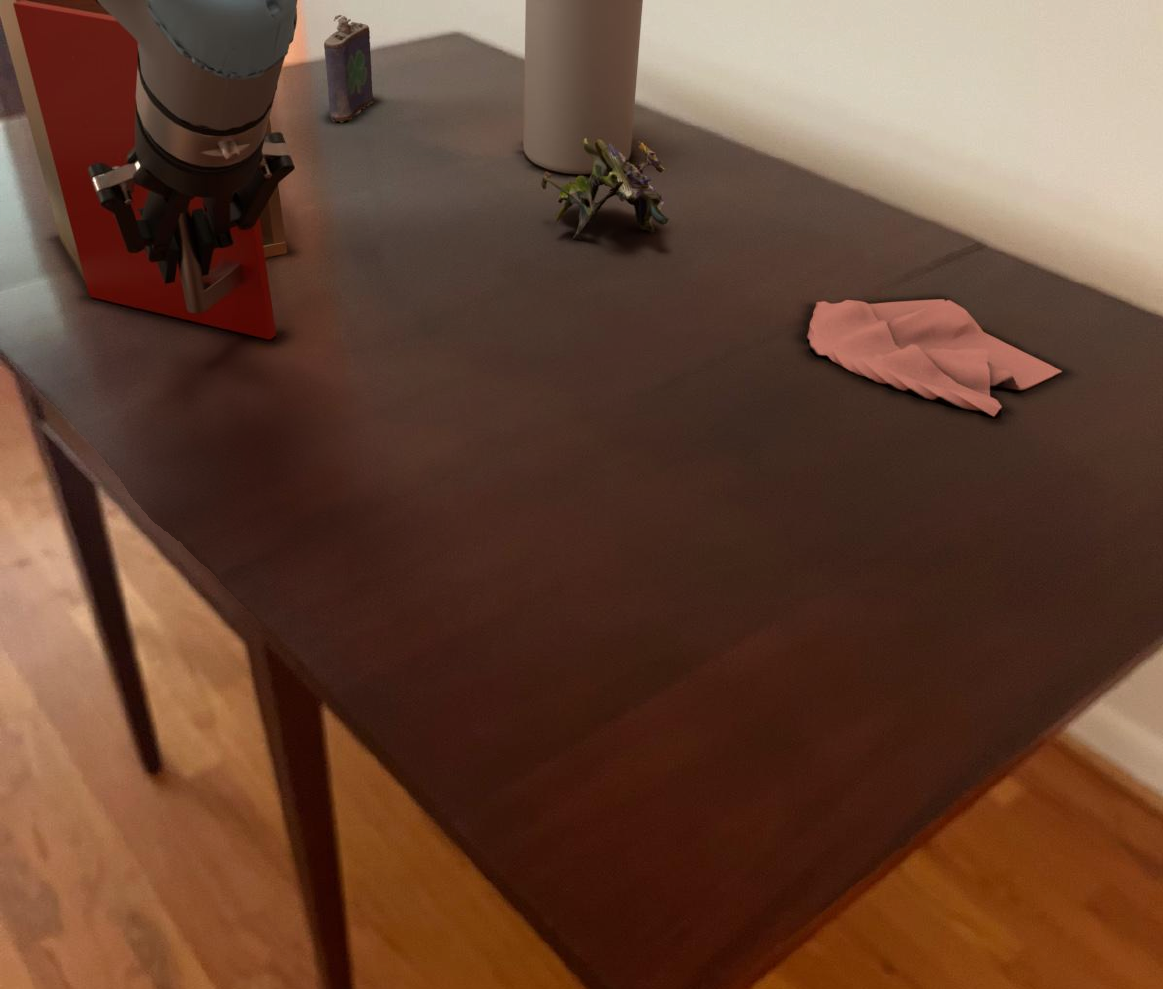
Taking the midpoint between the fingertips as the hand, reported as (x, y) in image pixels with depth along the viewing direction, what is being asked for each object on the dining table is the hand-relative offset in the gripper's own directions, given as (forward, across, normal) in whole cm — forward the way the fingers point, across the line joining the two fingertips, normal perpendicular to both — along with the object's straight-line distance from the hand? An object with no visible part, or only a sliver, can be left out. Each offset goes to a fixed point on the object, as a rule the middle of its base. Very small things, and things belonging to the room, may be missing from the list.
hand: (180, 263), depth 89 cm
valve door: (+9, -2, -2) cm, 9 cm away
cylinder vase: (+24, +52, +11) cm, 58 cm away
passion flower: (+10, +44, -2) cm, 45 cm away
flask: (+40, +34, +29) cm, 60 cm away
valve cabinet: (+20, +4, +9) cm, 22 cm away
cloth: (-13, +57, -27) cm, 64 cm away
